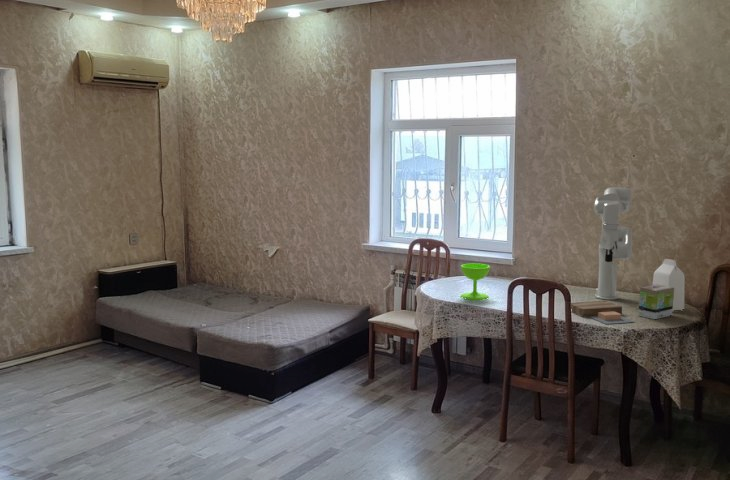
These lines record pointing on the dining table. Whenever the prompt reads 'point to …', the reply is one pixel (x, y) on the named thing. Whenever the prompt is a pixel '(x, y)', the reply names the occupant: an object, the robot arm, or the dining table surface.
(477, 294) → the wineglass
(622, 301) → the dining table surface
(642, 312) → the tea box
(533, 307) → the dining table surface
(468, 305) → the dining table surface
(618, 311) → the brown flat block
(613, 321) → the mat
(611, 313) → the tile
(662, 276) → the milk
